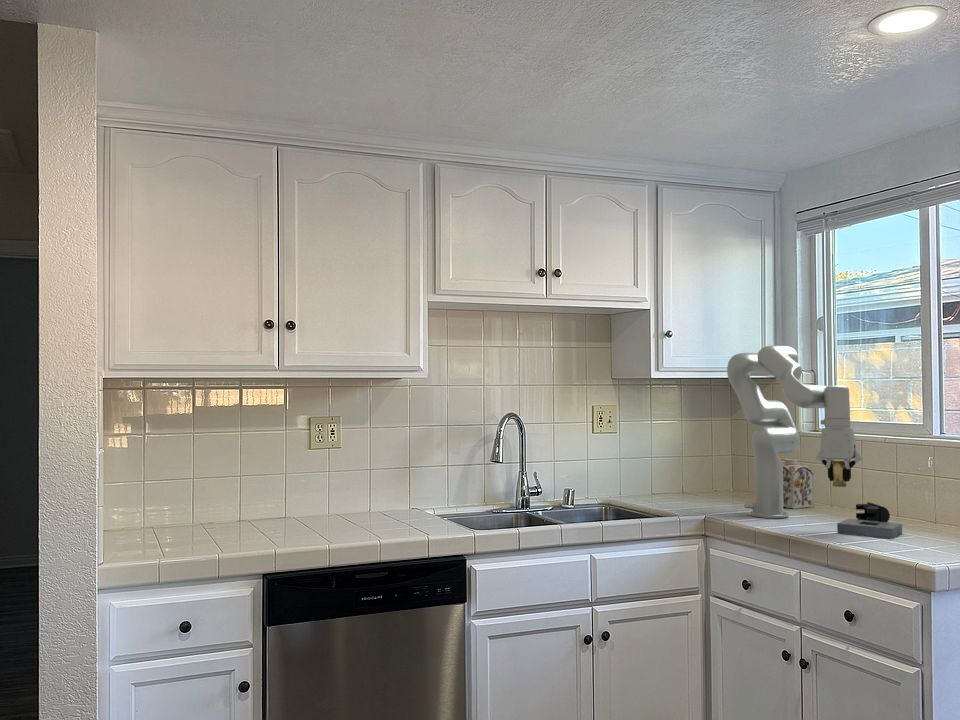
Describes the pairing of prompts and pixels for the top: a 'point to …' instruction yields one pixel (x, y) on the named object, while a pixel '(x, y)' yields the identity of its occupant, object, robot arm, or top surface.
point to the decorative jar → (797, 485)
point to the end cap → (872, 512)
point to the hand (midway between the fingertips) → (839, 480)
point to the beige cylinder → (838, 473)
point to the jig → (869, 528)
